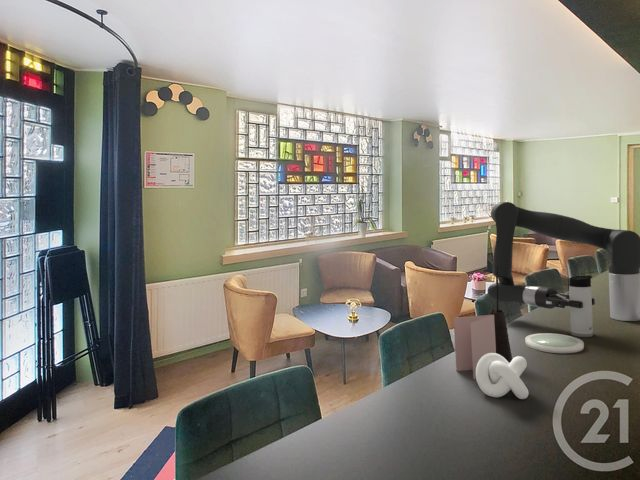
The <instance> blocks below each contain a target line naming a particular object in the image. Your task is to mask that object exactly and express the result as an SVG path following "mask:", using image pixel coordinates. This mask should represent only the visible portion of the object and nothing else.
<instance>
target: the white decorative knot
mask: <svg viewBox="0 0 640 480" xmlns="http://www.w3.org/2000/svg"><path fill="white" fill-rule="evenodd" d="M527 364H528V363H527V360H526V359H525V357H523V356H521V355H517V356H515V357H512V361H511V362H508V361H507V360H506V359H505V358H504V357H503V356H501V355H499V354H497V353H488V354H485V355H484V356H482V357H481V358H480V360H479V361H478V363H477V366H476V379H475V380H476V383H477V385H478V387H479V388H480V390H481V391H482V392H483V393H484V394H485V395H487V396H489V397H492V398H501V397H503V396H505V395H507V394H508V393H509V392H510V391H512V393H513V394H514V396H515V397H516V398H518V399H520V400H525V399H527V398H528V396H529V389H528V388H527V386H526V385H525V383H524V381H523V380H522V379H521V378H520V377H521V376H522V374H523V373H524V371H525V370H526V368H527V366H528V365H527Z"/></svg>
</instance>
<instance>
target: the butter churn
mask: <svg viewBox="0 0 640 480" xmlns="http://www.w3.org/2000/svg"><path fill="white" fill-rule="evenodd" d="M495 283H496V287H497V288H496V295H497V298H496V299H497V301H496V307H492V308H491V309H490V311H489V315H494V323H495V342H496V353H497V354H499V355H501V356H503V357H504V358H505V359H506V360H507V361H508V362H509V363H510V362H511V361H512V359H513V357H512V349H511V345H510V344H511V343H510V337H509V333H508V327H507V321H506V314H505V310H502V309H499V301H498V283H499V279H498V266H496V276H495Z"/></svg>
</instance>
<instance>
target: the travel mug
mask: <svg viewBox="0 0 640 480" xmlns="http://www.w3.org/2000/svg"><path fill="white" fill-rule="evenodd" d="M592 278H593V276H592V275H588V274H587V275H577V276H571V277H569V278H568V293H569V300H574V301H582V302H583V308H574V307H569V320H570V321H569V322H570V325H569V326H570V335H571V336H573V337H576V338H591V337H593V335H594V333H593V330H594V329H593V328H594V327H593V326H594V325H593V305H592V298H593V297H592V295H593V294H592V280H591V279H592Z"/></svg>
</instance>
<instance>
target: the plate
mask: <svg viewBox="0 0 640 480" xmlns="http://www.w3.org/2000/svg"><path fill="white" fill-rule="evenodd" d="M524 340H525V341H524V343H525V345H526V346H527V347H529V348H531V349H533V350H535V351H541V352H544V353H551V354H552V353H553V354H574V353H579V352H581V351H584V350H585V349H584V348H585V343H584V341H583V340H582V339H580V338H579V337H576V336H573V335H567V334H561V333H553V332H552V333H551V332H550V333H548V332H547V333H546V332H543V333H542V332H541V333H532V334H529V335H527V336H526V337H524Z"/></svg>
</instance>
